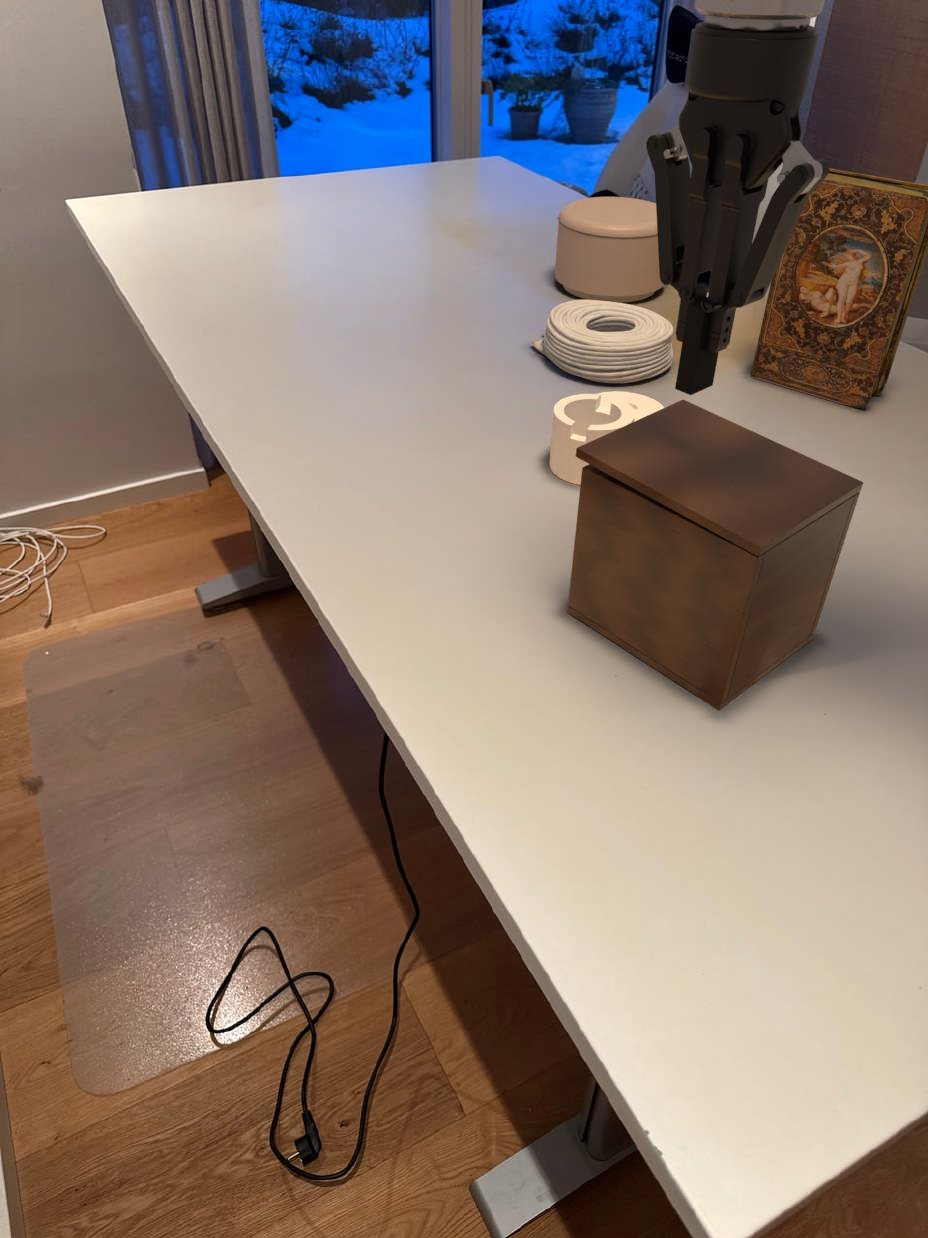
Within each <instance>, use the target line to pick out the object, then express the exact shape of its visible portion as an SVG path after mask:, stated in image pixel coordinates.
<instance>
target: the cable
mask: <svg viewBox="0 0 928 1238" xmlns="http://www.w3.org/2000/svg"><path fill="white" fill-rule="evenodd" d="M673 335H674V326H673V324H672V323H671V322H670V321H669V320H668V319H667V318H665V317H663V316H662V315H660V314H659V313H657V312H655V311H652V310H650V309H648V308H645V307H642V306H638V305H634V304H628V303H625V302H621V303H617V302H610V301H599V300H588V299H573V300H568V301H565V302H562V303H560V304H557V305H556V306H554V307H553V308H552V309H551V311H550V313H549V316H548V317H547V319H546V327H545V332H544V333H541V334H540V337H541V338H543V339H539V340H537V339H535V338H531V339H530V342H531V343H532V345H533V346H534V348H535V349H536V350H537V351H538V352H539V353H540V354H542V355H544V356H545V357H546V358H548V359H549V360H550V361H551V362H552V363H553V364H554V365H555V366H556V367H558V368H559V369H561V370H562V371H564V372H566V373H568V374H570V375H573V376H576V377H578V378H579V377H580V378H582V379H585V380H587V381H592V382H596V383H601V384H629V383H635V382H639V381H643V380H646V379H651V378H653V377H657V376H659V375H660V374H661V375H662V374H663V373H664V372H666V371H667V370H668V369H669V368H670V367H671V366H672V363H673V361H674V359H673V357H674V350H673Z"/></svg>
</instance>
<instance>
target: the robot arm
mask: <svg viewBox="0 0 928 1238" xmlns="http://www.w3.org/2000/svg"><path fill="white" fill-rule="evenodd" d="M825 3H826V0H694V4H693V5H694V6H693V7H694V9H695V10H696V12H697V13H698V14H700V15H703V20H702V21H701V22H698V23H696V24H695V27H694V28H693V29H692V30H691V32H690V33H691V34H690V40H689V41H690V42H689V49H688V55H687V63H686V64H687V65H686V69H685V77H684V78H685V79H684V86H685V88H686V90H687V91H688V95H687V98H686V101H685V104H684V105H683V108H682V110H681V111H680V114H679V117H678V123H677V124H675V125H674V126H672V127H671V128H669V129H668V130H666V131H665V132H662V133H657V134H653V135H650V136H649V137H648V138H647V139H646V144H645V146H646V151H647V154H648V158H649V160H650V163H651V167H652V170H653V174H654V185H655V186H654V191H655V203H656V212H657V232H658V252H659V273H660V280H661V282H662V283H663V284H664V286H669V285H670V286H671V287H672V288H674V289H675V291H676V292H677V294H678V297H679V298H680V299H679V300H680V302H679V309H678V316H677V321H676V328H675V336H676V341H678V342H680V343H681V348H680V355H679V362H678V368H677V375H676V381H675V387H674V389H675V390H677V391H680V392H681V393H684V394H687V395H689V396H693V395H695V394H697V393H699V392H701V391H703V390H706V389H709V388H711V387H712V386H713V385H714V380H715V376H716V375H715V374H716V371H717V370H716V369H717V363H718V357H719V352H722V351H723V350H726V349H727V348H728V346H729V345H730V342H731V337H732V333H733V327H734V322H735V316H736V311H737V309H738V308H739V309H740V308H743V307H746V306H748V305H751V304H753V303H756V302H758V301H761V300H762V299H763V298H765V296H766V294H767V292H768V291H769V289H770V285H771V281H772V278H773V276H774V274H775V272H776V269H777V267H778V265H779V263H780V260H781V258H782V256H783V254H784V251H785V249H786V247H787V244H788V242H789V240H790V238H791V235H792V233H793V231H794V229H795V226H796V224H797V222H798V219H799V217H800V215H801V213H802V210H803V208H804V206H805V204H806V201H807V199H808V197H809V196H810V195H811V194H812V193H813V192H814V190H815V189H816V188H817V187H818V186H819V185H820V184H821V182H822V181H823V180H824V179H825V178H826V177H827V175H828V173H829V168H830V164H829V162H828V161H827V160H826V159H824V158H820V159H816V160H815V158H813V156H812V155H811V154H810V152H809V151H808V150H807V148H805V146H804V145H803V144H802V142H801V139H802V135H803V126H802V122H801V113H800V109H801V105H802V103H803V100H804V97H805V95H806V92H807V91H808V87H809V82H810V78H811V74H812V73H811V72H812V68H813V63H814V59H815V58H814V57H815V53H816V48H817V44H818V38H819V34H818V33H817V29H816V27H814V26H812V25H811V19H813V18H817V17H818V16H819V15H820V14H822V13H823V11H824V6H825ZM689 160H690V161H689ZM690 163H691V165H690ZM781 165H782V167H781V170H780V171H779V174H777V176H776V181H777V183H778V184H779V185H778V186H777V188H776V189H775V191H774V193H773V194H772V196H771V198H770V200H769V202H768V204H767V207H766V209H765V212H764V214H763V215H762V216H763V217H762V219H761V221H760V224H759V225H758V228H757V231H756V225H757V220H758V216H759V215H758V214H759V209H760V205H761V203H762V202H763V201H764V199H765V198H766V194H767V189H768V185H769V184H768V183H769V179H770V178H771V177H772V175H773V174H774V173H775V172H776V171H777V170H778V168H780V166H781ZM691 166H692V167H691ZM755 231H756V233H755ZM707 295H708V296H707Z"/></svg>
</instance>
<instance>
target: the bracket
mask: <svg viewBox="0 0 928 1238" xmlns="http://www.w3.org/2000/svg"><path fill="white" fill-rule="evenodd" d="M663 408H665V406H664V405H663V404H661V402H659V401H657V400H656V399H654V398H652V397H649V396H646V395H643V394H641V393H640V394H639V393H636V392H630V391H619V390H617V391H614V390H613V391H612V390H611V391H603V392H602V391H601V392H599V393H578V394H572V395H569V396H566V397H563V398H562V399H560V400H558V401H557V402H556V403H555V405H554V406H553V411H552V413H553V414H552V425H551V437H550V452H549V469H550V471H551V472H552V473H553V475H554V476H556V477H557V478H559V479H561V480H563V481H565V482H568V483H569V484H574V485H578V486H580V485H581V476H582V468H583V467H584V466H587V465H589V464H588V463H586V462H585V461H583V460H581V459H579V458H577V457H576V449H577V448H578V447H580V446H582V445H584V444H586V443H589V442H591V441H593V440H595V439H597V438H600V437H602V436H604V435H606V434H608V433H611V432H613V431H615V430H617V429H619V428H622V427H624V426H626V425H628V424H630V423H633V422H635V421H637V420H639V419H641V418H643V417H646V416H648V415H650V414H652V413H654V412H657V411H659V410H661V409H663Z"/></svg>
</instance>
